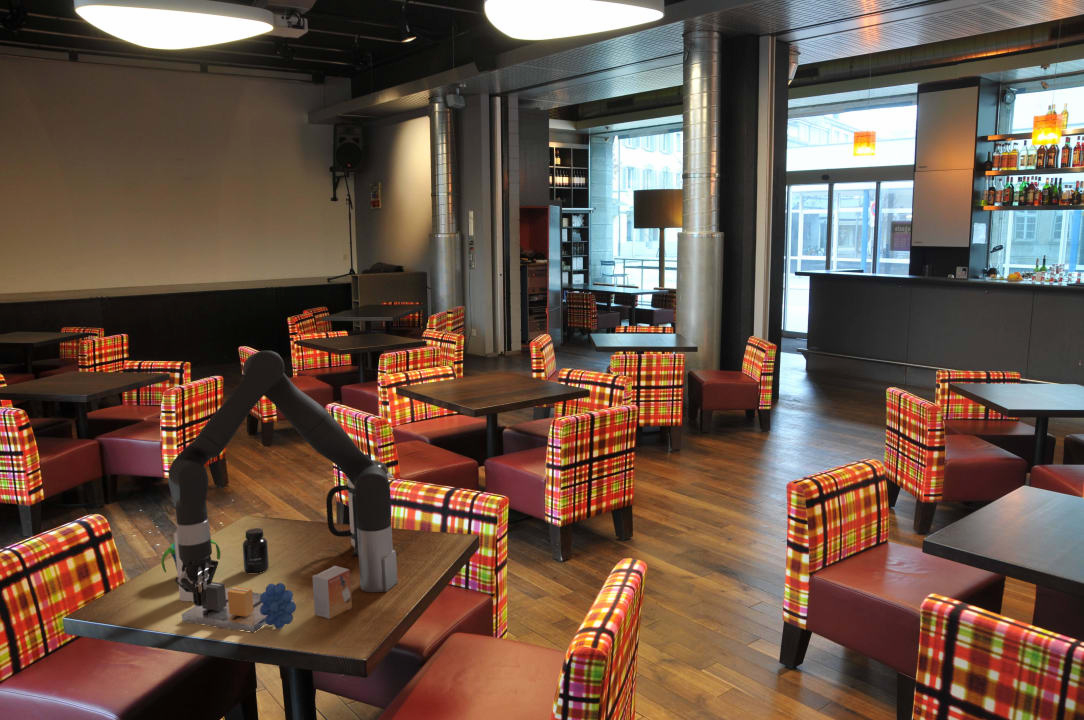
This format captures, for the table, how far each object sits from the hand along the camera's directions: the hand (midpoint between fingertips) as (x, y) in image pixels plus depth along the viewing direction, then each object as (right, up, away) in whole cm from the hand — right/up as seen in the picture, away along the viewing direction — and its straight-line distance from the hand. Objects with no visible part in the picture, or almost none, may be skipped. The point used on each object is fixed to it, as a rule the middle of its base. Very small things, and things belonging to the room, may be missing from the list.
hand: (200, 604), depth 206 cm
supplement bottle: (+2, 0, +35) cm, 35 cm away
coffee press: (+31, +2, +49) cm, 58 cm away
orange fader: (+10, -3, +1) cm, 10 cm away
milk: (-8, -3, +17) cm, 19 cm away
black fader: (+1, -2, +5) cm, 6 cm away
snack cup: (-15, -1, +31) cm, 35 cm away
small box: (+32, -4, +7) cm, 32 cm away
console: (+7, -4, +7) cm, 11 cm away
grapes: (+21, -5, -1) cm, 21 cm away
